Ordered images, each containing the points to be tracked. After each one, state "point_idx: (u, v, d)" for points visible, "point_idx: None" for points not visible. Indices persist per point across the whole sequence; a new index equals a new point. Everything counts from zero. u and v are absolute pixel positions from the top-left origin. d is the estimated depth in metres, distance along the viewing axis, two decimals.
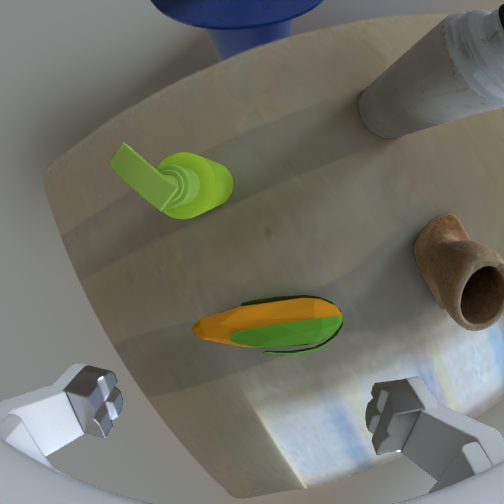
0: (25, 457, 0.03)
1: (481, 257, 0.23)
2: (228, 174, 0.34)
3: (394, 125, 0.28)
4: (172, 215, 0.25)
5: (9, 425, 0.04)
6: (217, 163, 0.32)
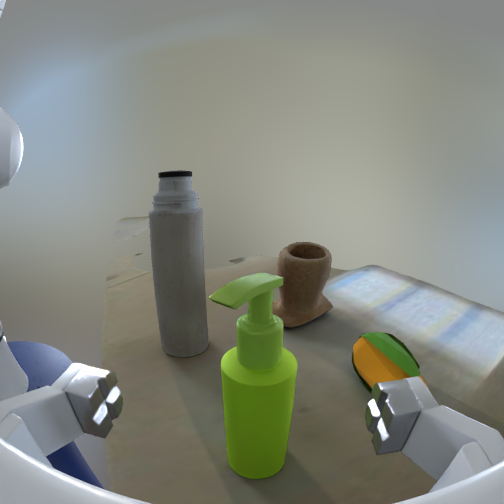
0: (25, 457, 0.03)
1: (284, 255, 0.51)
2: None
3: (202, 314, 0.44)
4: (294, 367, 0.21)
5: (9, 425, 0.04)
6: None
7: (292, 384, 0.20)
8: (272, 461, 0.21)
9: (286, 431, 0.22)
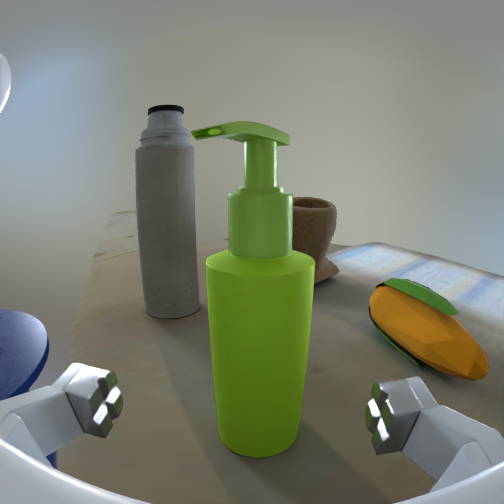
0: (25, 457, 0.03)
1: None
2: None
3: (191, 265, 0.38)
4: (311, 261, 0.15)
5: (9, 425, 0.04)
6: None
7: (310, 287, 0.15)
8: (282, 427, 0.16)
9: (302, 376, 0.16)
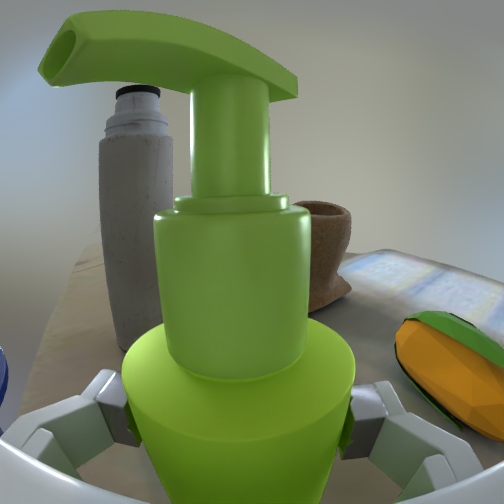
0: (25, 457, 0.03)
1: None
2: None
3: None
4: (348, 364, 0.06)
5: (39, 441, 0.04)
6: None
7: (343, 419, 0.06)
8: None
9: None
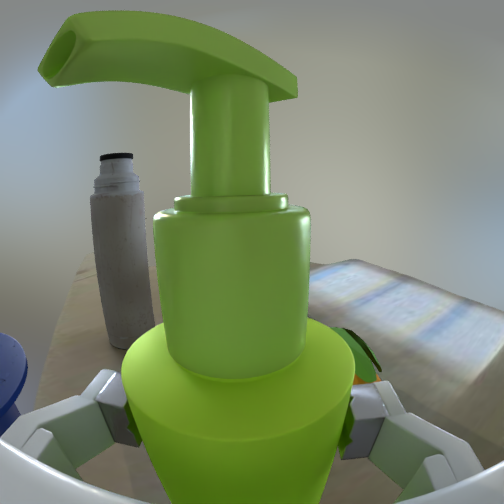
0: (25, 457, 0.03)
1: None
2: None
3: (144, 303, 0.40)
4: (348, 364, 0.06)
5: (39, 441, 0.04)
6: None
7: (343, 418, 0.06)
8: None
9: None
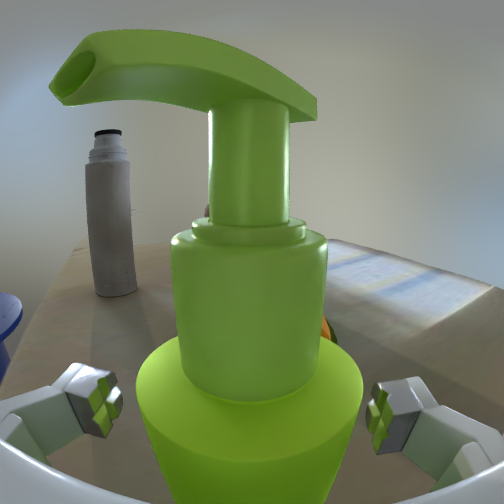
0: (25, 457, 0.03)
1: (208, 205, 0.53)
2: None
3: (126, 255, 0.46)
4: (357, 383, 0.06)
5: (9, 424, 0.04)
6: None
7: (350, 434, 0.06)
8: None
9: None
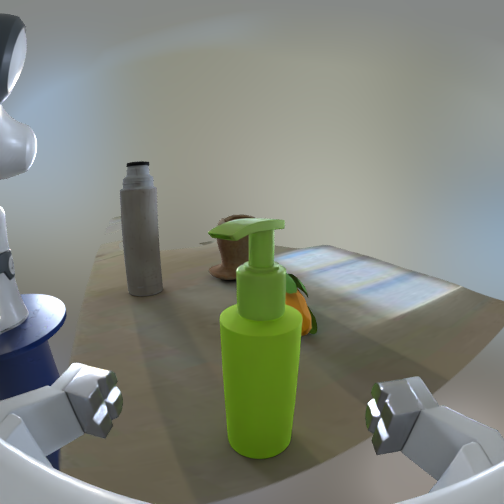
0: (25, 457, 0.03)
1: (220, 222, 0.67)
2: None
3: (155, 262, 0.60)
4: (299, 319, 0.20)
5: (9, 425, 0.04)
6: None
7: (298, 339, 0.19)
8: (277, 436, 0.20)
9: (292, 399, 0.21)
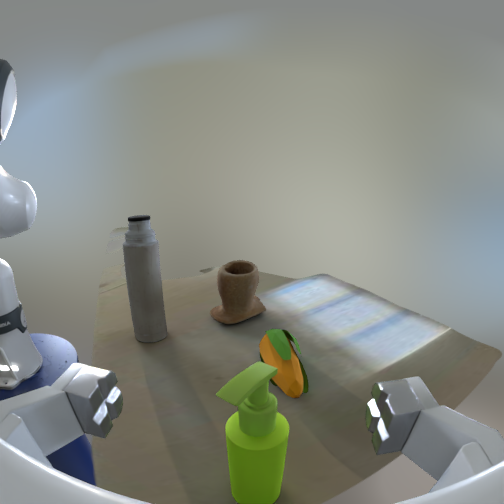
0: (25, 457, 0.03)
1: (220, 271, 0.69)
2: None
3: (160, 312, 0.62)
4: (286, 432, 0.23)
5: (9, 425, 0.04)
6: None
7: (284, 445, 0.22)
8: (269, 496, 0.23)
9: (280, 474, 0.24)
